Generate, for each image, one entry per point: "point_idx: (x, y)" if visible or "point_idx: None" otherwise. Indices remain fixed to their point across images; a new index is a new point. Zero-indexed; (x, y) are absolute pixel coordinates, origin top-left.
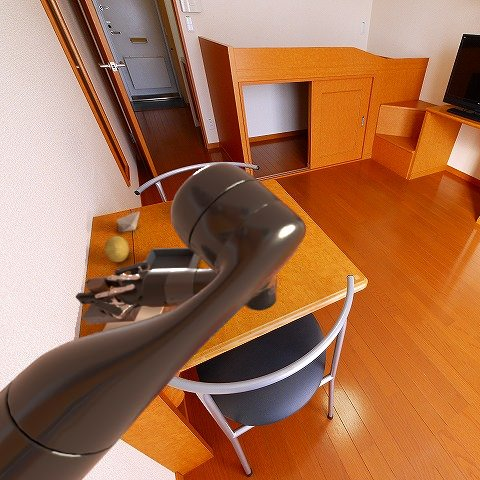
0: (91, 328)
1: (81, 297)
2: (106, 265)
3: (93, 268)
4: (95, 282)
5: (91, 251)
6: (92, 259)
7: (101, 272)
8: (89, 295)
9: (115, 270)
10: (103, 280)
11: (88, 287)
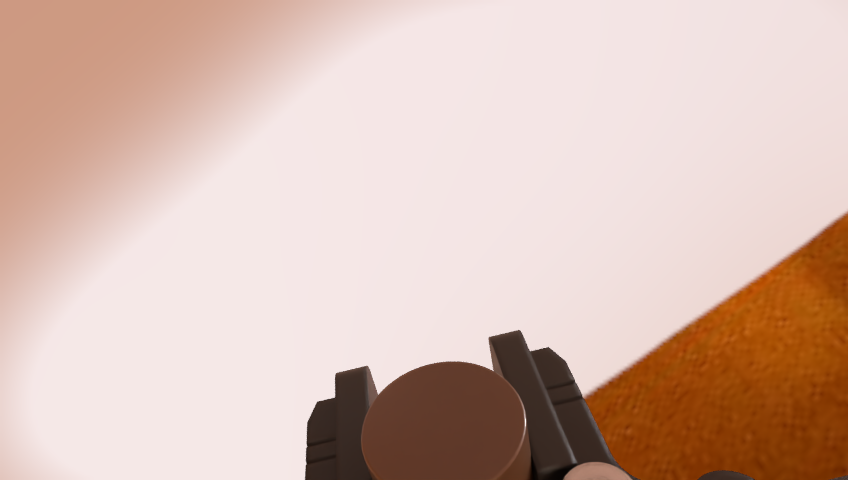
0: None
1: (334, 416)
2: (830, 299)
3: (783, 276)
4: (454, 418)
5: (840, 219)
6: (813, 246)
7: (788, 309)
8: (336, 467)
9: (722, 471)
10: (500, 474)
11: (384, 405)
